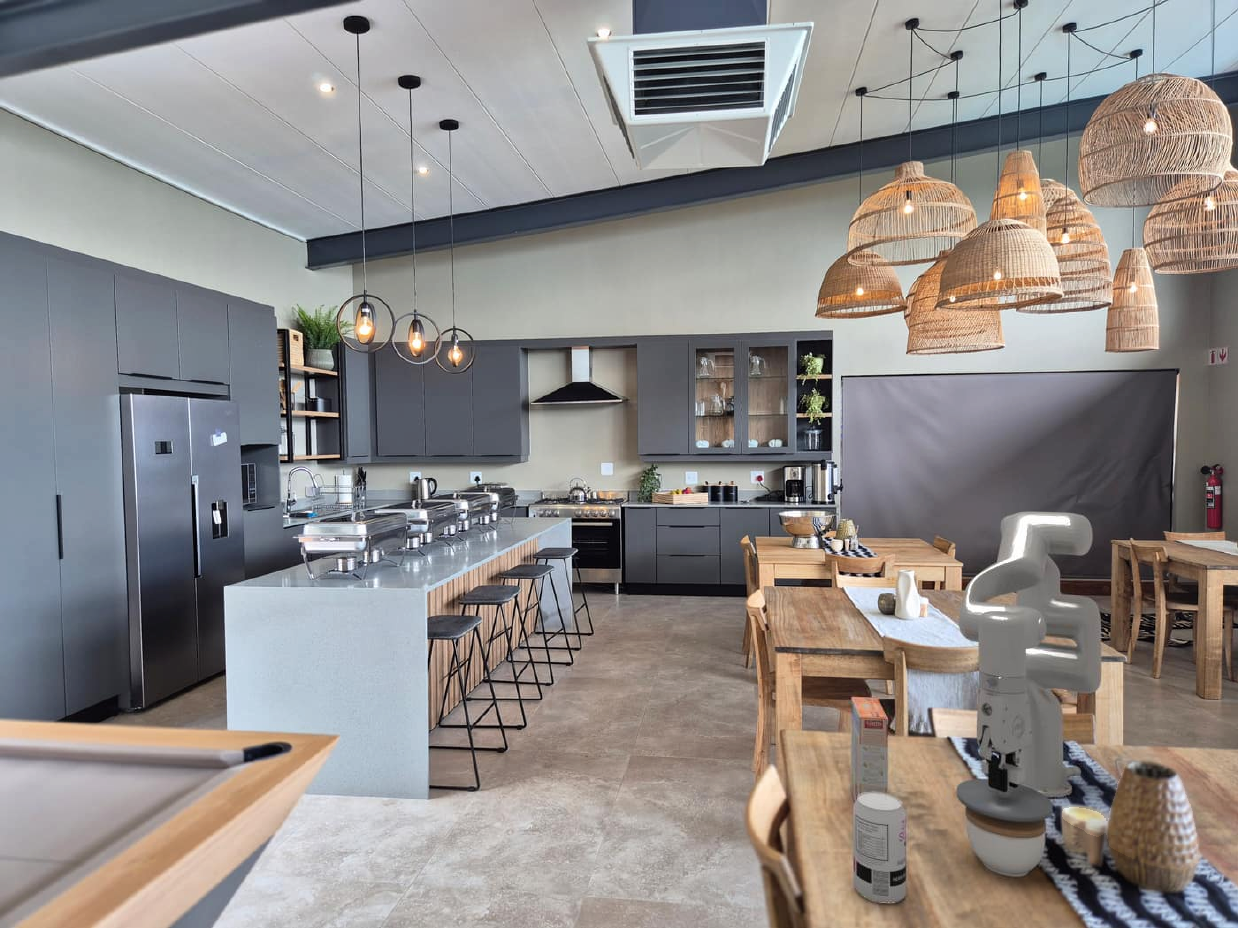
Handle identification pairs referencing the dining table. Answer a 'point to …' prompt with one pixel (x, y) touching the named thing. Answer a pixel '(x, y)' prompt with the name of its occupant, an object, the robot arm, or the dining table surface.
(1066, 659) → the robot arm
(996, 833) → the lidded bowl
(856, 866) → the supplement can
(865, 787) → the cracker box
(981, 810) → the lid
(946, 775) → the dining table surface
